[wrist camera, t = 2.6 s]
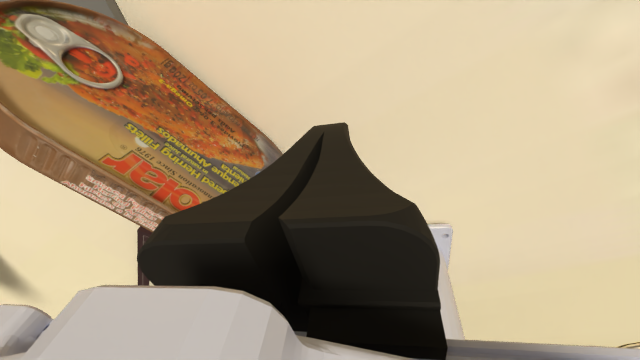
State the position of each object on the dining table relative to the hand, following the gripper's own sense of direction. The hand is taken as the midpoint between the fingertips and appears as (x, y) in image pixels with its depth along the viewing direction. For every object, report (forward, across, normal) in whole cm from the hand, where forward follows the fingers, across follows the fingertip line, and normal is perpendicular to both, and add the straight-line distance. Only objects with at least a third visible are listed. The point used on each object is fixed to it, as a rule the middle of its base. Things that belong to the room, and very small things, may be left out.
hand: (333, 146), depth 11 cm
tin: (+6, +9, 0) cm, 10 cm away
